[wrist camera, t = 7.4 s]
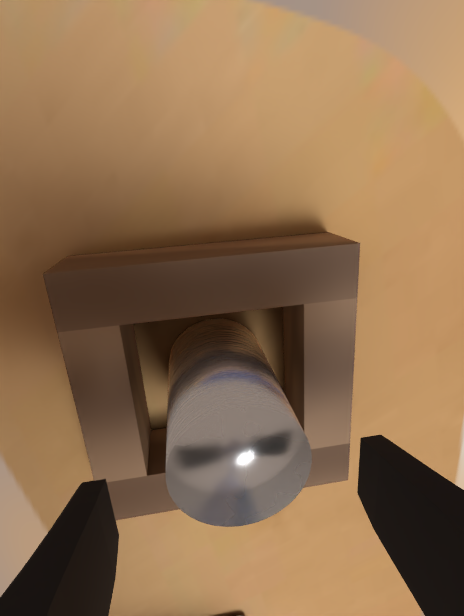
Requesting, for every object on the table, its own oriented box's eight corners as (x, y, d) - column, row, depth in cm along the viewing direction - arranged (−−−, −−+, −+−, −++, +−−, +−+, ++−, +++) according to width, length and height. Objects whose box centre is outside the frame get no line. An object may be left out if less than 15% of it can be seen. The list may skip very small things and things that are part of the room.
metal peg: (266, 391, 18) (316, 507, 12) (179, 409, 18) (181, 540, 12) (255, 310, 17) (306, 392, 10) (160, 328, 17) (150, 425, 10)
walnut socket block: (323, 437, 20) (348, 480, 17) (115, 470, 19) (104, 522, 16) (327, 232, 16) (359, 243, 13) (67, 256, 15) (42, 273, 12)
